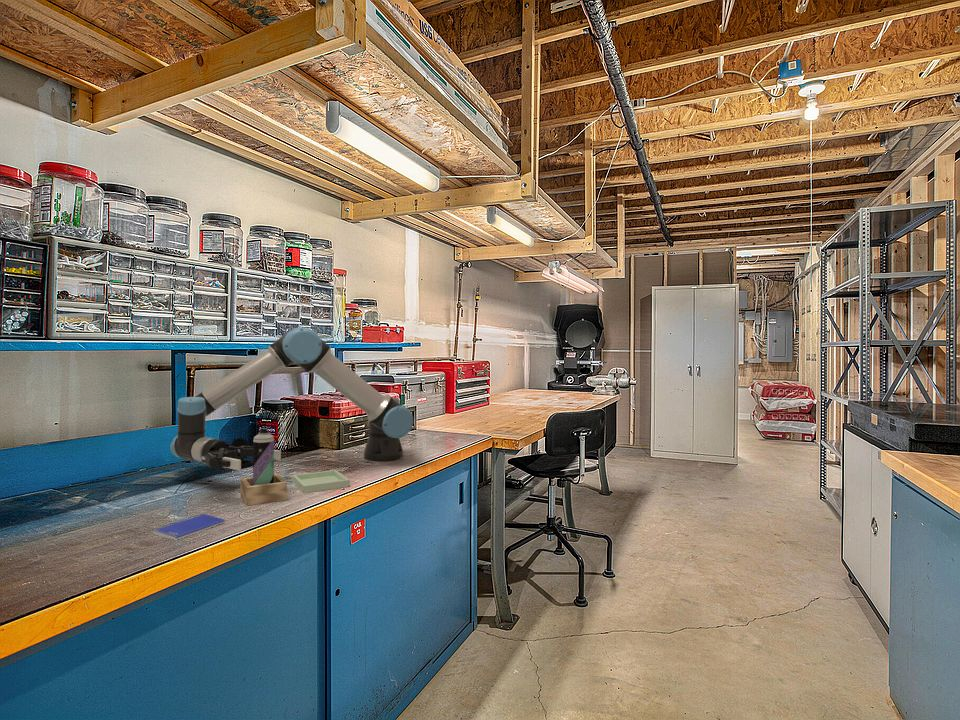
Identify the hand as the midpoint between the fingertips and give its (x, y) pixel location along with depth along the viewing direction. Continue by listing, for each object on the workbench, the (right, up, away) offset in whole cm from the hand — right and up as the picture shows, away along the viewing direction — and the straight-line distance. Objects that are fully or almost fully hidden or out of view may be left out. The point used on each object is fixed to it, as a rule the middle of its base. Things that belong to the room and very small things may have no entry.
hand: (260, 460), depth 144 cm
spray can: (+1, -11, 0) cm, 11 cm away
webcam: (-23, -9, +35) cm, 43 cm away
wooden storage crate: (+1, -11, 0) cm, 11 cm away
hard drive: (-7, -12, -24) cm, 27 cm away
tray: (+12, -11, +15) cm, 22 cm away
